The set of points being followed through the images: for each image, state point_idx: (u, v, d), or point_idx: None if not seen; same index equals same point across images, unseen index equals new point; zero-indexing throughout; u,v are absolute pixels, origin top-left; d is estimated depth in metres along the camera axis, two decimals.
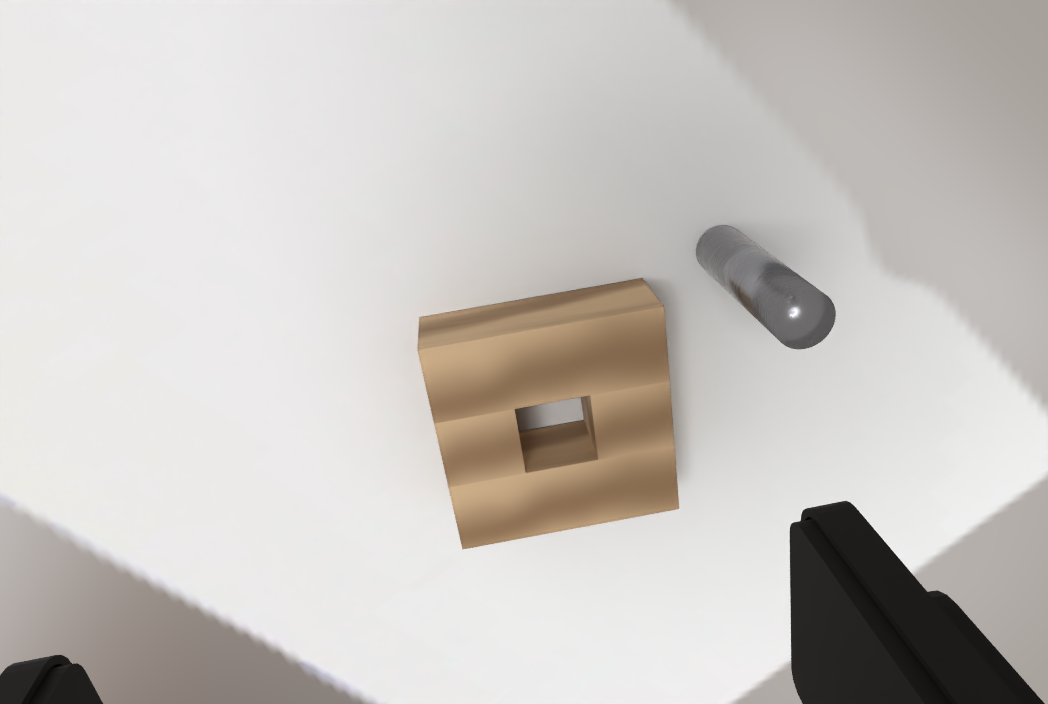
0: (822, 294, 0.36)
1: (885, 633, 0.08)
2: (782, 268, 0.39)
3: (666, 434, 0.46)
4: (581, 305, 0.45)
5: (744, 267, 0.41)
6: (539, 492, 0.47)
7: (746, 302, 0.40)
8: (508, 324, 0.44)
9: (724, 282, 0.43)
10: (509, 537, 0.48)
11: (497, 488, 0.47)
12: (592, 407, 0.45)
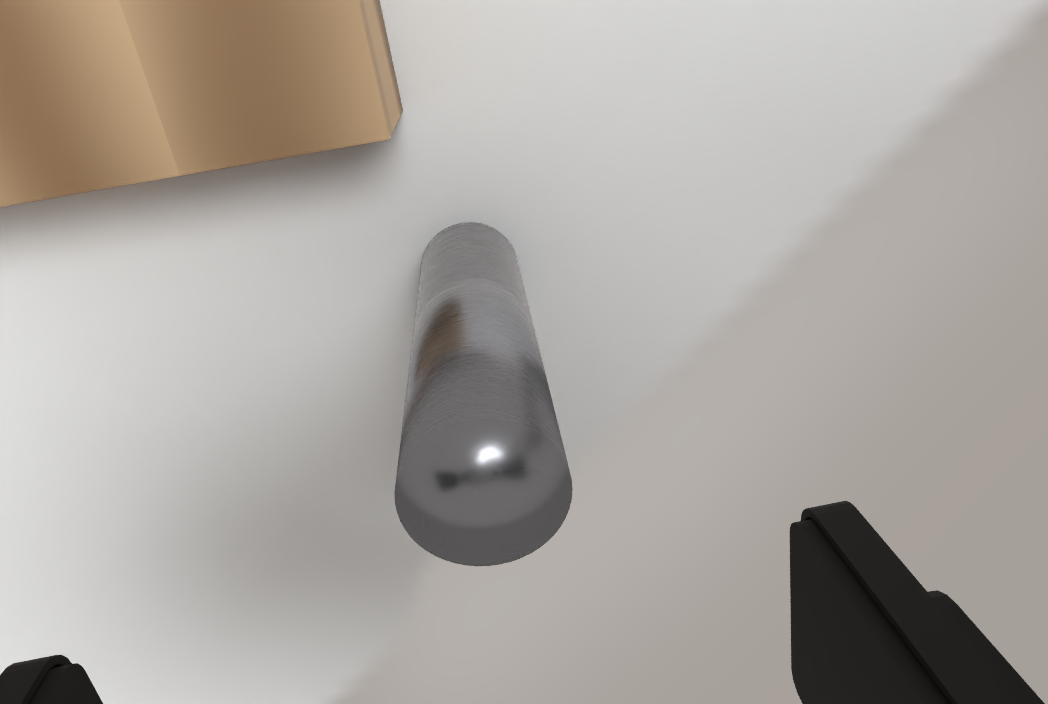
0: (558, 522, 0.13)
1: (885, 633, 0.08)
2: None
3: (11, 184, 0.17)
4: None
5: (517, 315, 0.17)
6: None
7: (457, 333, 0.16)
8: None
9: (454, 279, 0.19)
10: None
11: None
12: None
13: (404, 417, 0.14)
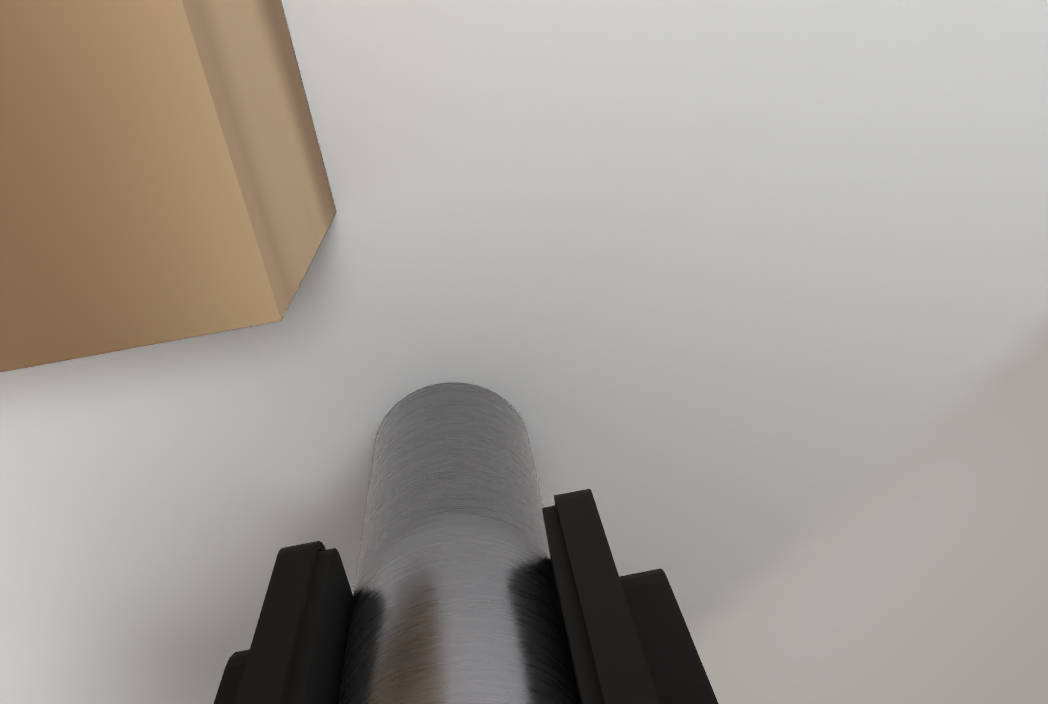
0: None
1: (571, 602, 0.09)
2: None
3: None
4: None
5: (548, 678, 0.08)
6: None
7: None
8: None
9: (421, 561, 0.10)
10: None
11: None
12: None
13: None
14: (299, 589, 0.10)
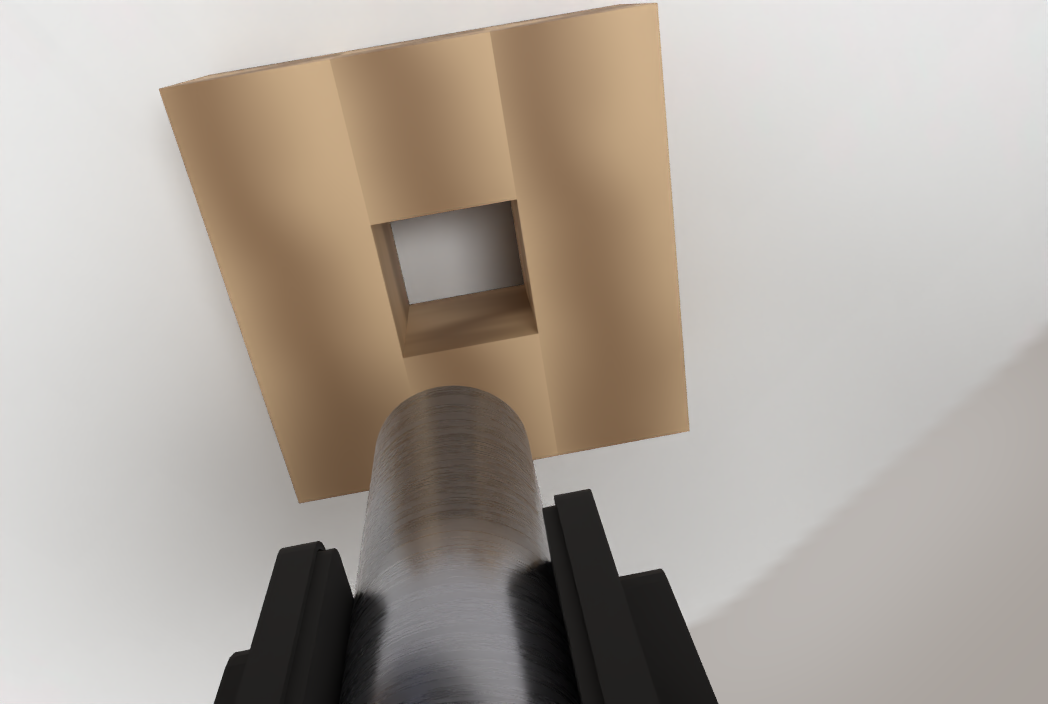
0: None
1: (571, 602, 0.09)
2: None
3: None
4: None
5: (548, 682, 0.08)
6: (325, 254, 0.23)
7: None
8: None
9: (422, 564, 0.10)
10: (203, 195, 0.22)
11: (331, 168, 0.22)
12: (513, 339, 0.25)
13: None
14: (299, 589, 0.10)
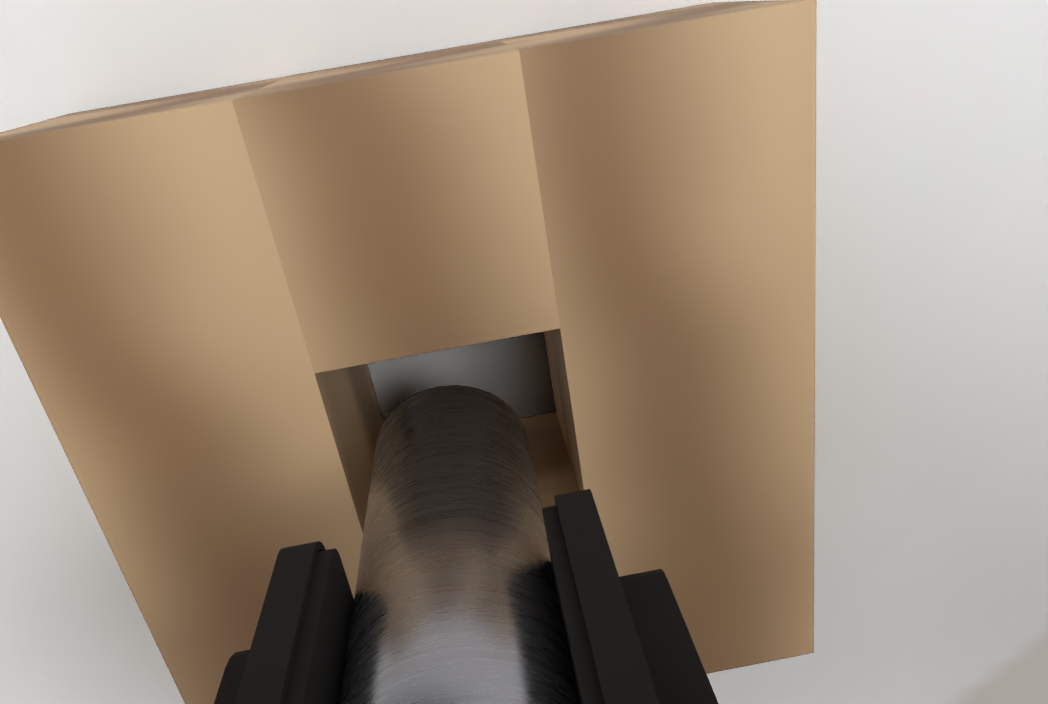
0: None
1: (571, 602, 0.09)
2: None
3: None
4: None
5: (549, 681, 0.08)
6: (239, 420, 0.14)
7: None
8: None
9: (421, 564, 0.10)
10: (22, 332, 0.13)
11: (243, 285, 0.13)
12: None
13: None
14: (299, 589, 0.10)
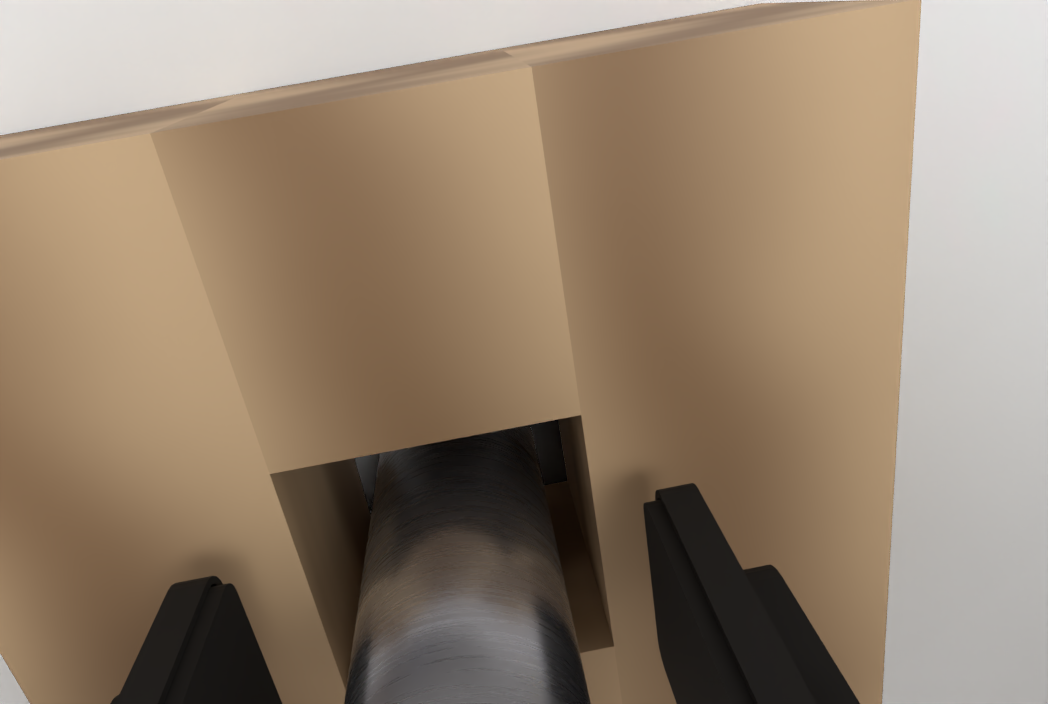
0: None
1: (696, 598, 0.09)
2: None
3: None
4: None
5: (537, 582, 0.10)
6: (176, 531, 0.11)
7: (429, 669, 0.08)
8: None
9: (429, 492, 0.11)
10: None
11: (174, 368, 0.10)
12: None
13: None
14: (182, 629, 0.09)
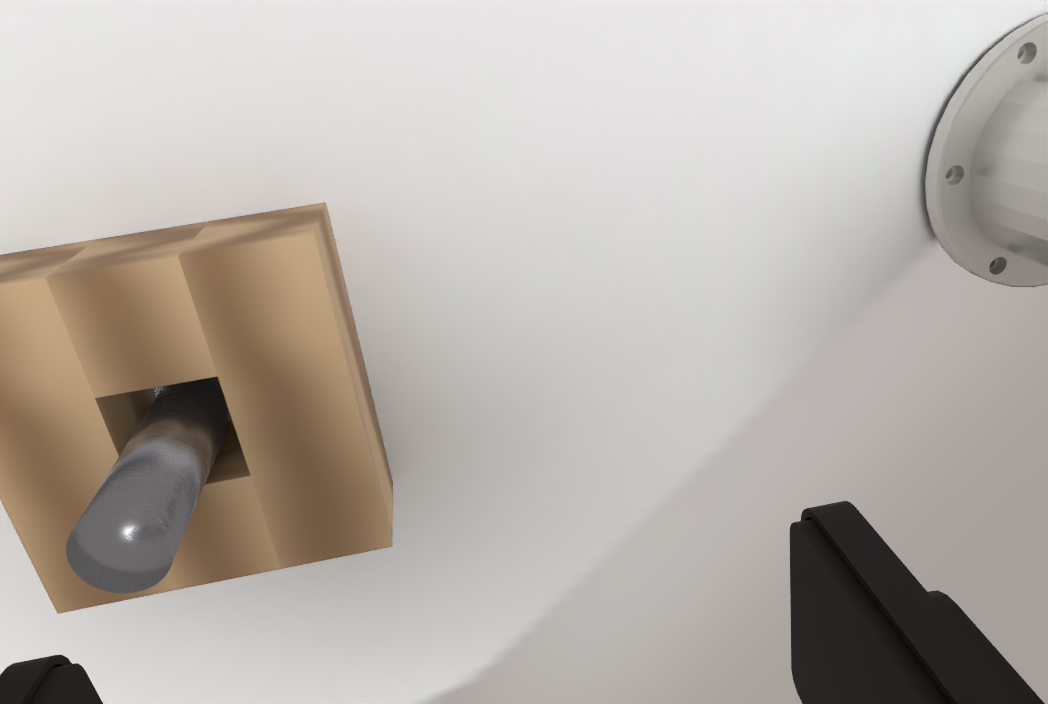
0: (168, 567, 0.24)
1: (885, 633, 0.08)
2: (198, 491, 0.27)
3: (192, 577, 0.32)
4: (372, 434, 0.33)
5: (190, 434, 0.28)
6: (58, 421, 0.29)
7: (135, 451, 0.26)
8: (348, 350, 0.31)
9: (161, 406, 0.29)
10: None
11: (56, 357, 0.28)
12: (229, 480, 0.31)
13: None
14: None
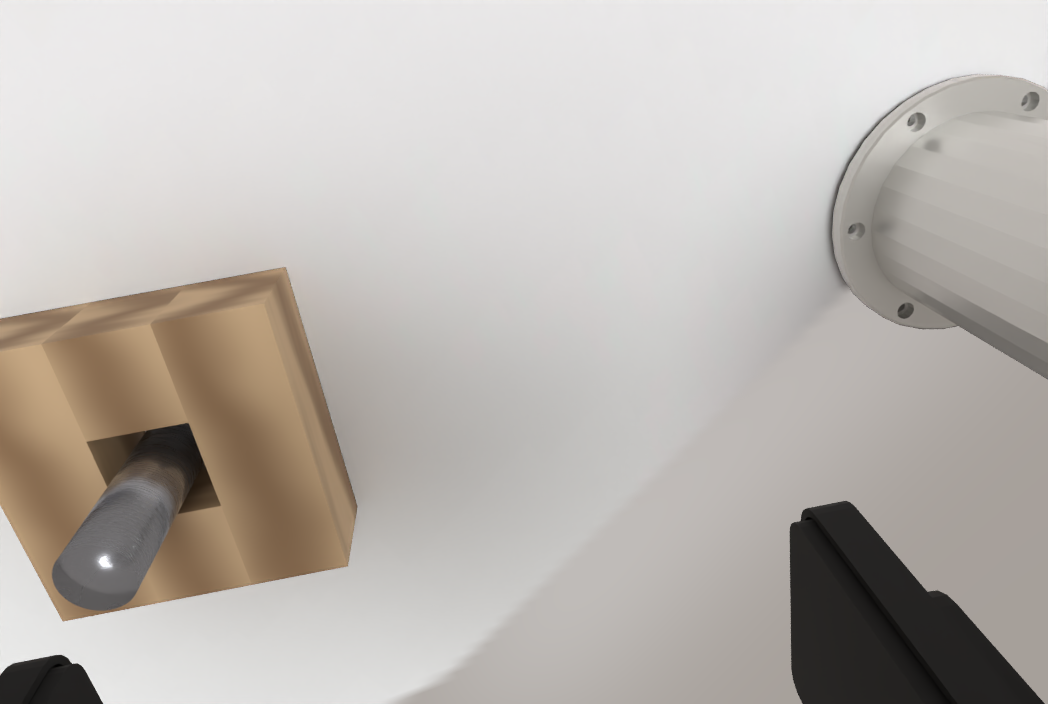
0: (135, 590, 0.29)
1: (885, 633, 0.08)
2: (167, 523, 0.32)
3: (175, 592, 0.37)
4: (330, 467, 0.38)
5: (163, 473, 0.33)
6: (56, 460, 0.34)
7: (114, 490, 0.31)
8: (303, 397, 0.35)
9: (142, 448, 0.34)
10: None
11: (52, 408, 0.33)
12: (203, 509, 0.36)
13: None
14: None
